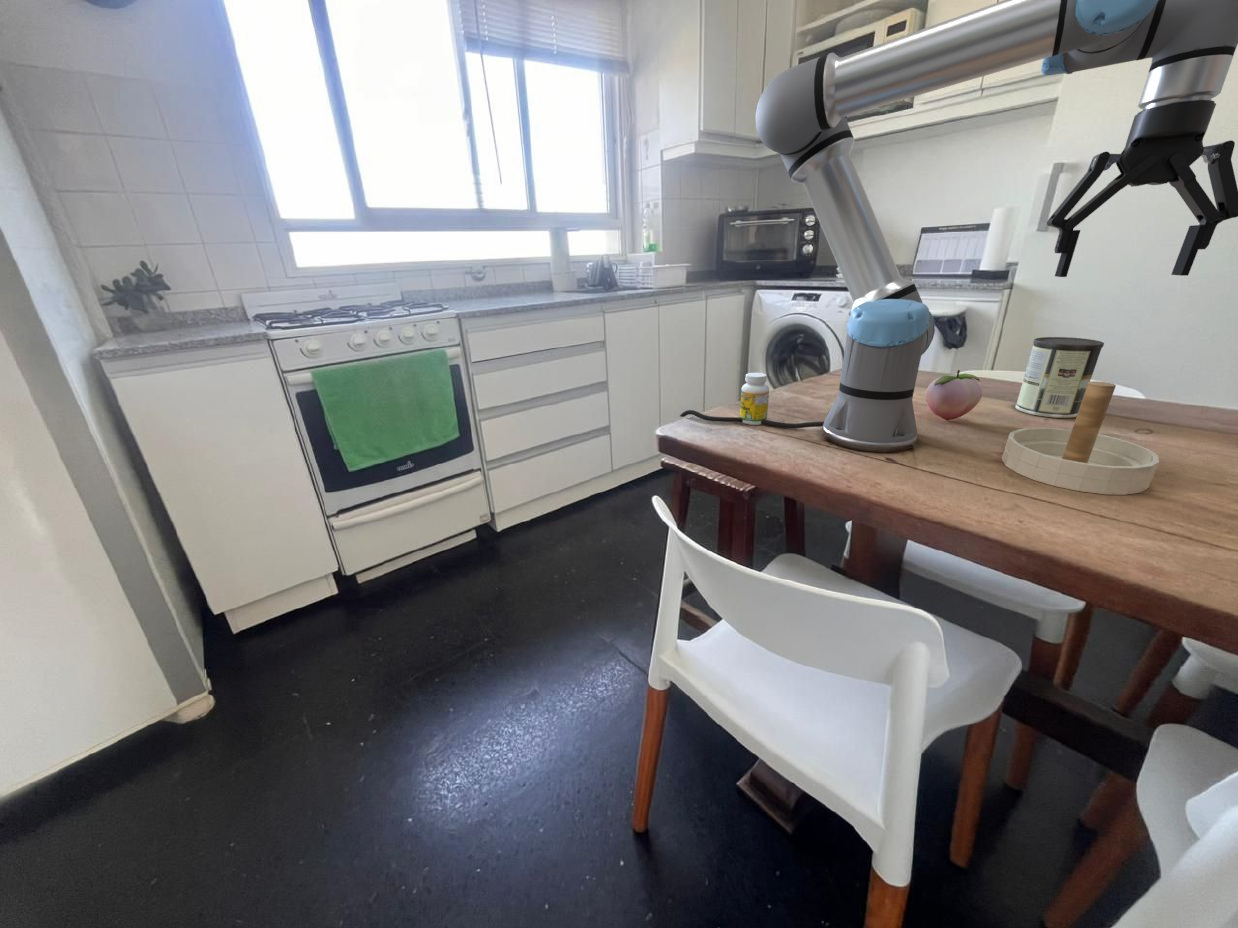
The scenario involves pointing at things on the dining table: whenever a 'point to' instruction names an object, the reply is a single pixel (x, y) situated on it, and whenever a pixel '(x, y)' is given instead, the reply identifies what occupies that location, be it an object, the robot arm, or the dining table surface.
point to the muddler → (1088, 421)
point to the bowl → (1108, 472)
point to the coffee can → (1058, 376)
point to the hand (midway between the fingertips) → (1117, 276)
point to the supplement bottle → (754, 399)
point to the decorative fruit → (953, 395)
